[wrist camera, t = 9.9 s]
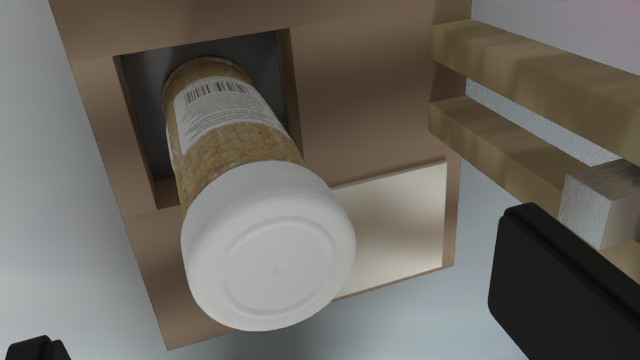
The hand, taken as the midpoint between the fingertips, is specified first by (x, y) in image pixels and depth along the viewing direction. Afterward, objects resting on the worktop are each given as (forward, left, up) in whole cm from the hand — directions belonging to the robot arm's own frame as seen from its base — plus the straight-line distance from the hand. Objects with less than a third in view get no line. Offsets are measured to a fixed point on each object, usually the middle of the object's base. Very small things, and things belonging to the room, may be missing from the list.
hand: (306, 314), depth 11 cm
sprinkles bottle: (-1, 0, -16) cm, 16 cm away
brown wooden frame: (-3, -3, -16) cm, 16 cm away
